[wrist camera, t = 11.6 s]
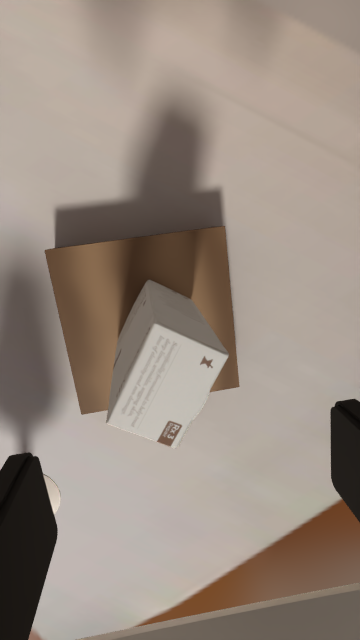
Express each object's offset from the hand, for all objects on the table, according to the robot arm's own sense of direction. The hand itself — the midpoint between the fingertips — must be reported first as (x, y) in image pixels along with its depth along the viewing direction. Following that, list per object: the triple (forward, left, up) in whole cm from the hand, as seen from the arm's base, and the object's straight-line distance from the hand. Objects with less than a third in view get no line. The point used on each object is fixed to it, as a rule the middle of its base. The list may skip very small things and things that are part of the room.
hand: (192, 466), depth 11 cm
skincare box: (0, 0, -18) cm, 18 cm away
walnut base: (+1, 0, -22) cm, 22 cm away
